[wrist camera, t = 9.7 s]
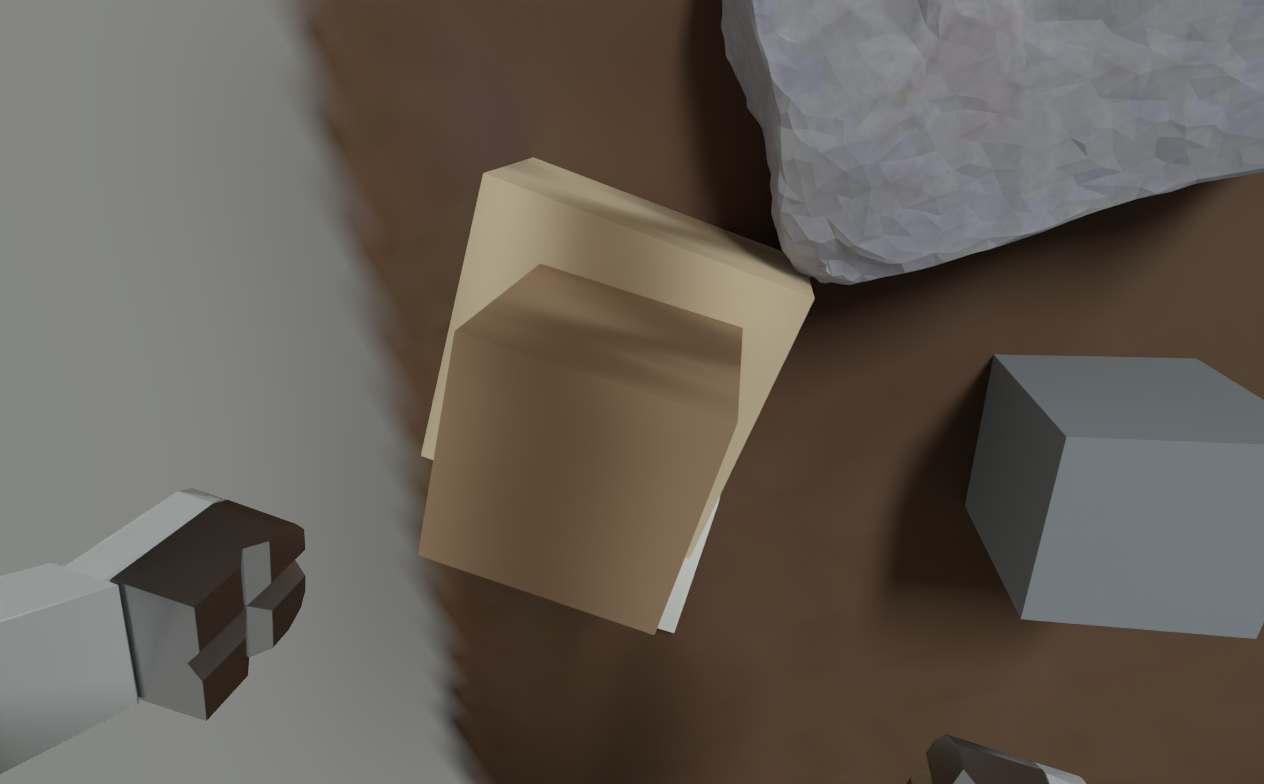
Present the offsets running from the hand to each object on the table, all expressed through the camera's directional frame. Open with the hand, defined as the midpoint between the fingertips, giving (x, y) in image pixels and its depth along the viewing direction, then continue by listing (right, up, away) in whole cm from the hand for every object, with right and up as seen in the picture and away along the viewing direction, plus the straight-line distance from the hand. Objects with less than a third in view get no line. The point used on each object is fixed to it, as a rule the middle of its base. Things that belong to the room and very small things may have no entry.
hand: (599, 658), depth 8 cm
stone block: (+9, +13, +7) cm, 17 cm away
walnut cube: (0, +3, +8) cm, 9 cm away
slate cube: (+13, +2, +11) cm, 17 cm away
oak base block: (0, +5, +12) cm, 13 cm away
